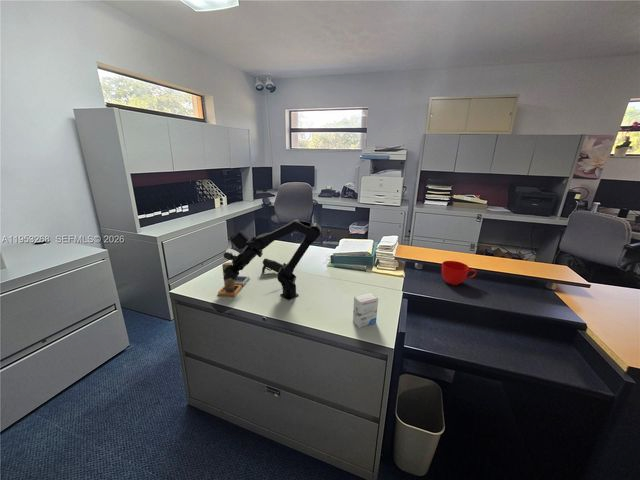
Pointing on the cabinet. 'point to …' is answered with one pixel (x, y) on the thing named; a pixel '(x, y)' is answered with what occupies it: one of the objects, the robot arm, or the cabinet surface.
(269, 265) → the gun
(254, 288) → the cabinet surface
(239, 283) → the tray
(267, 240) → the robot arm
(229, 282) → the post
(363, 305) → the ink box
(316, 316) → the cabinet surface
